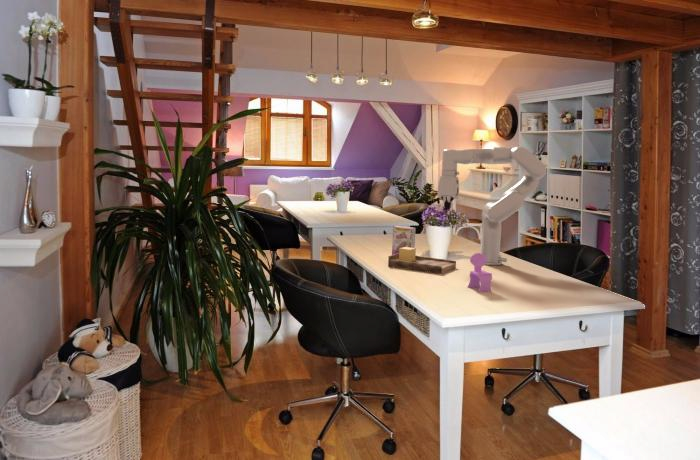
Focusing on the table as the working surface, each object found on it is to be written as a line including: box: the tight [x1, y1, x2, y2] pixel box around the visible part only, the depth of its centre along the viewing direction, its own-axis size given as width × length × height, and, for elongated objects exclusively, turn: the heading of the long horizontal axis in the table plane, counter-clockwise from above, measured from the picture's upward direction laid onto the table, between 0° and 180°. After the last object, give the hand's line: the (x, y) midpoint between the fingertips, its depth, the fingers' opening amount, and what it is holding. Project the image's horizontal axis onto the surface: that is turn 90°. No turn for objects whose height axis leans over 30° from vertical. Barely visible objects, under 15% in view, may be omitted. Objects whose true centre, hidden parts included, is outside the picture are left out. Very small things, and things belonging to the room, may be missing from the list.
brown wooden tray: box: [387, 253, 457, 275], centre depth 296 cm, size 28×18×5 cm, turn 58°
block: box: [399, 247, 417, 262], centre depth 300 cm, size 6×6×6 cm
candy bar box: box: [391, 225, 416, 255], centre depth 320 cm, size 11×5×16 cm, turn 58°
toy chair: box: [467, 252, 493, 293], centre depth 252 cm, size 8×9×15 cm
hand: (447, 209), depth 309 cm, fingers closed
